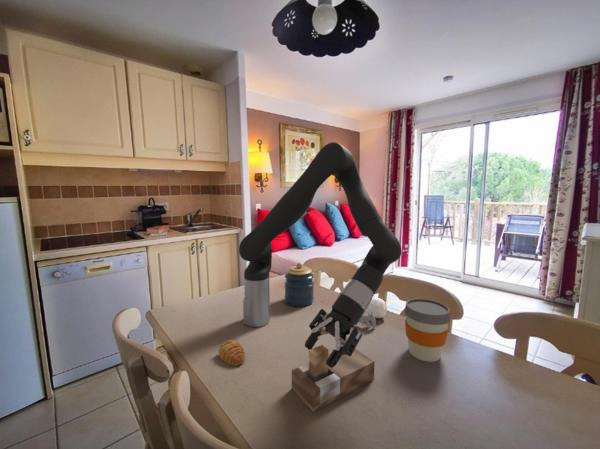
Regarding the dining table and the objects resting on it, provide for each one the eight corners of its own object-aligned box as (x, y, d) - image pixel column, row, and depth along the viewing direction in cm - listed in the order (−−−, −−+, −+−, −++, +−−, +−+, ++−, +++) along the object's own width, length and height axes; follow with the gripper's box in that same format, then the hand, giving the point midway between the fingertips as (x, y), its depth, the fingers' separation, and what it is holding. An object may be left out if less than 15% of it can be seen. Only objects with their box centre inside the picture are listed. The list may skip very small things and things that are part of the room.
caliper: (375, 328, 101) (375, 312, 101) (374, 330, 100) (375, 313, 100) (321, 318, 109) (321, 303, 108) (320, 319, 108) (320, 304, 107)
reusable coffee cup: (402, 360, 82) (405, 311, 80) (402, 338, 94) (404, 296, 92) (450, 369, 78) (454, 318, 76) (444, 346, 90) (447, 301, 88)
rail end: (314, 393, 67) (315, 354, 66) (308, 387, 69) (309, 349, 68) (327, 387, 69) (328, 349, 68) (321, 381, 71) (322, 344, 70)
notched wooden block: (312, 412, 63) (313, 391, 62) (291, 388, 70) (291, 370, 70) (373, 379, 74) (374, 361, 73) (349, 361, 81) (350, 345, 81)
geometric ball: (375, 320, 113) (379, 301, 116) (389, 322, 106) (393, 301, 109) (360, 313, 110) (365, 294, 114) (374, 314, 103) (378, 293, 107)
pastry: (251, 361, 82) (251, 349, 81) (230, 371, 77) (229, 358, 77) (236, 347, 89) (235, 336, 88) (216, 355, 84) (215, 344, 84)
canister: (283, 296, 131) (283, 259, 129) (311, 295, 132) (311, 258, 130) (285, 307, 118) (285, 267, 116) (315, 306, 119) (316, 266, 117)
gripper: (327, 285, 77) (292, 336, 72) (366, 303, 65) (327, 365, 60) (341, 299, 81) (309, 349, 76) (381, 319, 69) (345, 379, 64)
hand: (317, 356), depth 68 cm, fingers open, 8 cm apart
